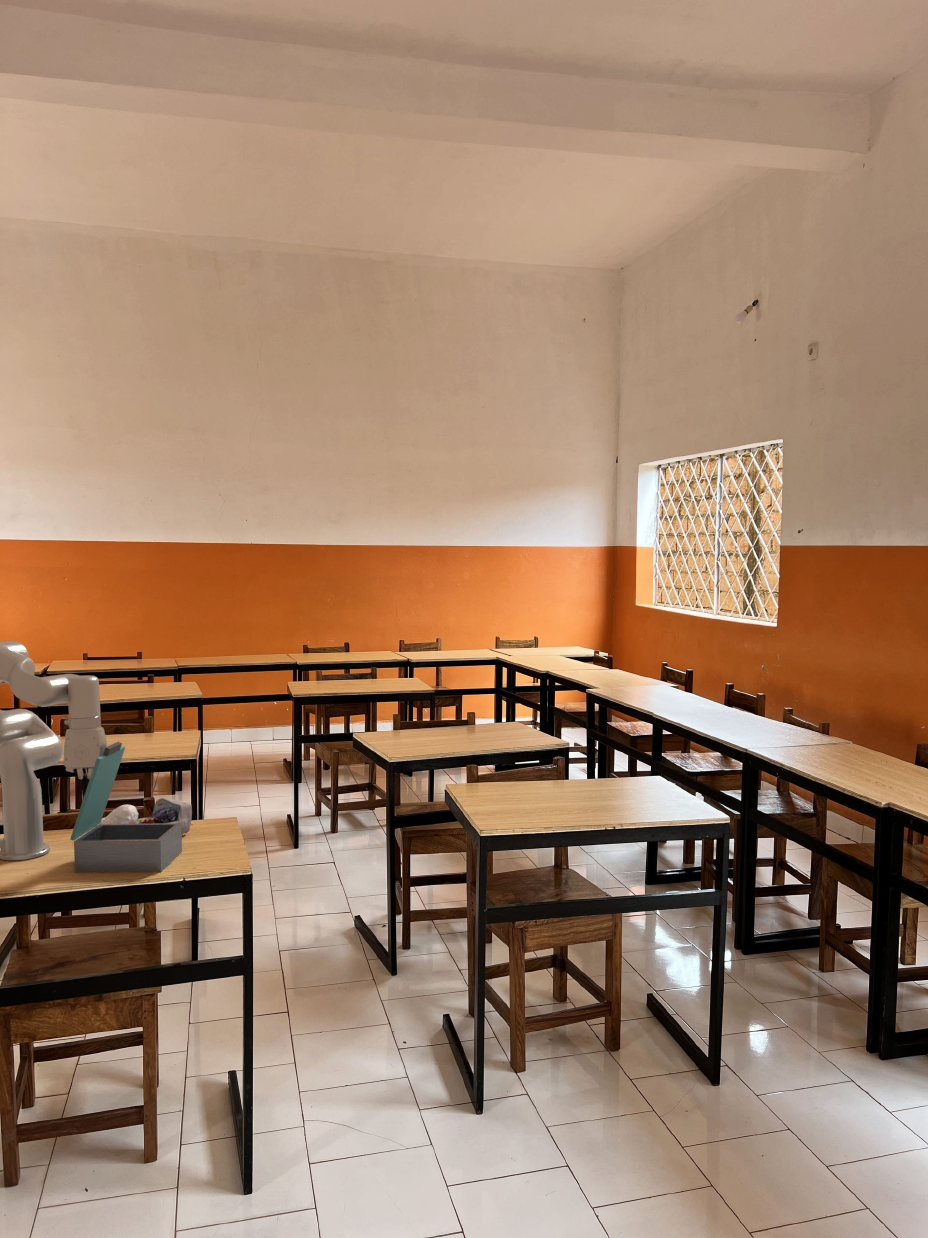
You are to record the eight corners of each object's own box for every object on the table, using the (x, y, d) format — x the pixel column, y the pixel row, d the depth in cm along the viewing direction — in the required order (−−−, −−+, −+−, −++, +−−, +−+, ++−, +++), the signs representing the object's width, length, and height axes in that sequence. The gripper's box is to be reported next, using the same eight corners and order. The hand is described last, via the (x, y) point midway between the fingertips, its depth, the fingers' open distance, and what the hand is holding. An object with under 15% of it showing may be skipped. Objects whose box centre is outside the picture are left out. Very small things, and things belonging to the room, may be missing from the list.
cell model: (196, 797, 261) (146, 815, 243) (198, 833, 262) (148, 855, 244) (162, 792, 267) (110, 811, 249) (163, 828, 268) (112, 849, 249)
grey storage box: (74, 872, 229) (73, 841, 228) (101, 853, 245) (100, 824, 244) (161, 872, 228) (160, 840, 228) (182, 852, 244) (181, 823, 244)
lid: (74, 841, 228) (69, 839, 228) (100, 823, 244) (96, 822, 244) (103, 752, 227) (98, 750, 227) (128, 740, 243) (123, 738, 243)
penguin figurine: (128, 807, 259) (89, 810, 260) (132, 836, 259) (93, 839, 260) (139, 801, 265) (100, 805, 266) (142, 830, 265) (104, 833, 267)
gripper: (49, 726, 231) (53, 797, 232) (107, 725, 231) (110, 796, 232) (63, 721, 239) (66, 790, 239) (119, 720, 238) (122, 789, 239)
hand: (88, 793), depth 236 cm, fingers closed
